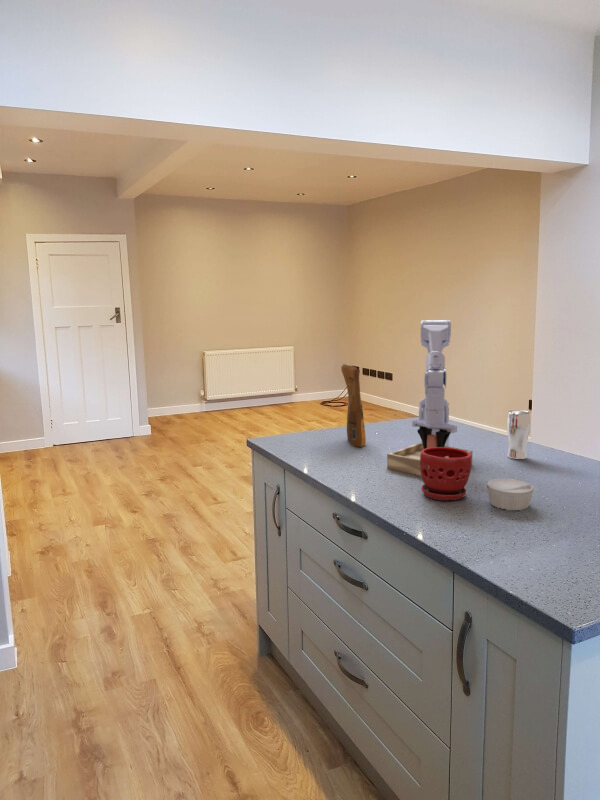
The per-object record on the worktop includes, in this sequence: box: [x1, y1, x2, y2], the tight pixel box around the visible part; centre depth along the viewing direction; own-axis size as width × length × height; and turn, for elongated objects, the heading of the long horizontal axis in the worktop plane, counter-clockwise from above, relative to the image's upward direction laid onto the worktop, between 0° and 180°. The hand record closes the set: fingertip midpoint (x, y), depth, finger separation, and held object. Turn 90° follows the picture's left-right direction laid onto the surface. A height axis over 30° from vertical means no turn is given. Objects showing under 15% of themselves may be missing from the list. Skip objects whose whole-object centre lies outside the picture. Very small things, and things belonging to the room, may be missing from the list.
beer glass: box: [506, 409, 531, 459], centre depth 197 cm, size 7×7×15 cm
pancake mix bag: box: [340, 363, 367, 448], centre depth 219 cm, size 7×19×28 cm, turn 6°
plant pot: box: [420, 447, 473, 501], centre depth 162 cm, size 13×13×12 cm
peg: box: [427, 434, 437, 448], centre depth 190 cm, size 4×4×8 cm
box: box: [386, 441, 473, 477], centre depth 189 cm, size 20×18×4 cm
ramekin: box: [486, 478, 535, 511], centre depth 155 cm, size 11×11×5 cm
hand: (433, 452), depth 190 cm, fingers closed on peg, 4 cm apart
